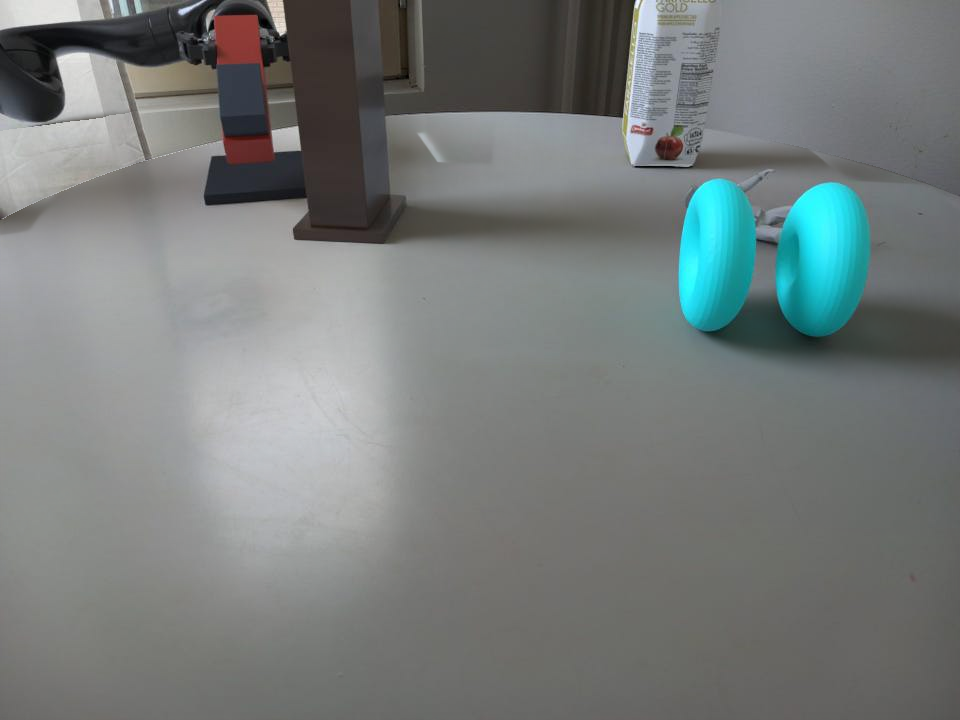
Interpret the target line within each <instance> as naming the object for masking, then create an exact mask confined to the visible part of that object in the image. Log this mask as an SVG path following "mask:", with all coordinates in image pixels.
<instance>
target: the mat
mask: <svg viewBox="0 0 960 720" xmlns="http://www.w3.org/2000/svg"><path fill="white" fill-rule="evenodd" d="M274 158H275V161H272V162H257V163H242V164H228V162H227V158H226V154H224V155H211V157H210V162H209V168H208V172H207V176H206V181H205V185H204V191H203V200H204V204H205V206H208V205H210V206H211V205H222V204H223V205H224V204H234V203H235V204H236V203H250V202H263V201H273V200H289V199H299V198H301V199H302V198H307V194H306V186H305V178H304V170H303V162H302V153H301V150H288V151H274Z"/></svg>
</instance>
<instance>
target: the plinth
mask: <svg viewBox="0 0 960 720" xmlns="http://www.w3.org/2000/svg"><path fill="white" fill-rule="evenodd" d="M282 5H283V14H284V22H285V31H287V39H288V47H289V55H290V62H289V63H290V70H291V71H290V73H291V78H292V86H293V87H292V88H293V96H294V104H295V112H296V120H297V128H298V135H299V146H300V151H301V153H302V162H303V170H304V178H305V186H306V194H307V197H306V202H307V209H308V211H307V212H306V213H305V215H304V216H302V218H301V219H300V220H299V221H298V222H297V223H295V225H294V226H293V227H292V235H293V239H294V240H302V241H303V240H304V241H324V242H327V241H328V242H344V243H345V242H346V243H347V242H349V243H365V244H367V243H369V244H370V243H371V244H384V242H385V241H386V239H387V238H388V236H389V235H390V233H391V232H392V230H393V228H394V227H395V225H396V223H397V221H398V219H399V218H400V216H401V214H402V213H403V211H404V210H405V208H406V207H407V195H406V194H391V184H390V183H391V182H390V168H389V166H390V165H389V153H388V152H389V151H388V136H387V120H386V119H387V118H386V102H385V89H384V88H385V86H384V74H383V73H384V72H383V71H384V70H383V55H382V41H381V40H382V39H381V38H382V37H381V24H380V8H379V6H380V5H379V0H282Z"/></svg>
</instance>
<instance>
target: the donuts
mask: <svg viewBox="0 0 960 720" xmlns="http://www.w3.org/2000/svg"><path fill="white" fill-rule="evenodd" d="M698 187H699V188H698V189H697V190H696V192H695V193H694V195H693V197H692V199H691V201H690V203H689V206H688V209H687V208H686V213H685V216H684V220H683V221H684V222H683V226H682V227H683V228H682V232H681V239H680V247H679V260H678V293H679V301H680V307H681V311H682V314H683V316H684V318H685V320H686V322H687V323H688V324H689V325H690V326H692V327H693V328H695V329H697V330H699V331H701V332H713V331H717V330H721V329H723V328H724V327H725V326H727V325H729V324H730V323H731V322H732V321H733V320H734V319H735V318H736V317H737V316H738V315H739V313H740V311H741V309H742V308H743V306H744V304H745V302H746V300H747V297H748V294H749V291H750V288H751V284H752V280H753V275H754V270H755V263H756V254H757V239H756V228H755V220H754V214H753V211H752V207H751V205H752V204H751V201H750V202H749V200H748V199H749V198H748V196H747V195H746V192H745V193H744V192H743V191H742V189H741V188H740V187H739V186H737V183H735V182H733V181H731V180H729V179H725V178H714V179H709V180H708V181H705V182H703V184H702V185H700V186H698ZM750 204H751V205H750ZM792 206H793V207H792V208H791V210H790V212H789V214H788V216H787V218H786V220H785V222H783V225H782V227H781V228H782V231H781V234H780V238H779V243H777V249H776V253H775V254H776V255H775V265H774V268H775V269H774V280H775V281H774V283H775V293H776V297H777V300H778V304H779V307H780V310H781V312H782V314H783V316H784V318H785V319H786V320H787V322H788V323H789V324H790V326H791V327H792V328H793V329H795V330H796V331H797V332H799V333H801V334H802V335H806V336H809V337H813V338H814V337H816V338H819V337H826V336H829V335H832V334H834V333H836V332H837V331H839V330H840V329H842V328H843V327H844V326H845V325H846V324H847V323H848V322H849V321H850V319H851V318H852V317H853V314H854V313H855V311H856V310H857V308H858V306H859V304H860V302H861V299H862V296H863V293H864V290H865V287H866V283H867V278H868V274H869V267H870V261H871V229H870V223H869V217H868V213H867V210H866V207H865V205H864V203H863V201H862V199H861V197H859V196H858V194H857V193H856V192H855V191H854V190H853V188H851V187H849V186H848V185H845V184H842V183H839V182H832V181H831V182H823V183H820V184H817V185H814V186H813V187H811V188H809V189H808V190H806V191H805V192H804V193H803V194H802V195H800V197H799V198H798V199H797V200H796V201H795V202H794V204H793V205H792Z"/></svg>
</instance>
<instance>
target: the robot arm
mask: <svg viewBox="0 0 960 720" xmlns="http://www.w3.org/2000/svg"><path fill="white" fill-rule="evenodd" d="M212 11H214V12H213V13H212V16H211V17H210V20H209V24H208V25H207V18H208V15H209V13H210V12H212ZM231 15H257V16H258V22H259V29H260V38H261V42H260V45H261V53H262V59H263V66H264V68H271V64H275V63H277V62H278V58H280V57H281V58H282V61H284V62H287V63H290V55H289V47H288V39H287V31H286V30H285V31H284V33H282V34H280V32H279V31H278V30H277V27H276V24H275V21H274V18H273V15H272V12H271V9H270V6H269V3H268V0H183V1H181V2H180V1H179V2H177V3H174V4H170V5H165V6H162V7H161V6H160V7H157V8H154V9H153V8H152V9H149V10H146V11H142V12H139V13H134V14H129V15H123V16H116V17H110V18H99V19H88V20H78V21H77V20H73V21H62V22H52V23H51V22H50V23H42V24H31V25H21V26H13V27H7V28H3V29H0V114H1V115H3V116H5V117H7V118H10V119H12V120H15V121H19V122H23V123H32V124H35V123H36V124H41V123H48V122H50V121H53V120H55V119H57V118H58V117H59V116H60V115H62V113H63V112H64V110H65V107H66V101H67V100H66V90H65V86H64V82H63V77H62V75H61V74H62V73H61V71H60V66H59V63H58V58H60V57H63V56H67V55H71V54H91V55H96V56H100V57H104V58H107V59H111V60H114V61H117V62H120V63H122V64H127V65H130V66H133V67H138V68H149V69H150V68H151V69H152V68H160V67H165V66H170V65H174V64H178V63H181V62H187V63H188V64H189V65H193V66H199V65H201V64H204V65H205V66H210V67H211V70H217V68H216V65H217V52H216V40H215V26H214V16H231ZM202 60H203V61H202Z"/></svg>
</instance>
